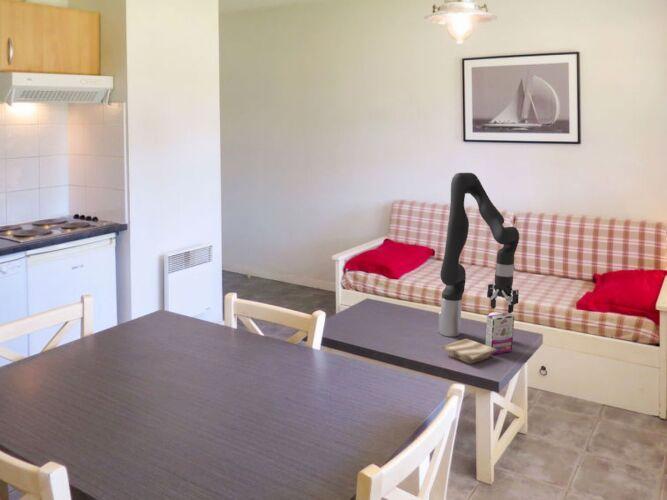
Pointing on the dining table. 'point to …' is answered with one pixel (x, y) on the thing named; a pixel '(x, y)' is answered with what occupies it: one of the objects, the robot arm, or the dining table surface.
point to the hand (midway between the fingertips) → (501, 310)
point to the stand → (469, 350)
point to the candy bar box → (500, 332)
